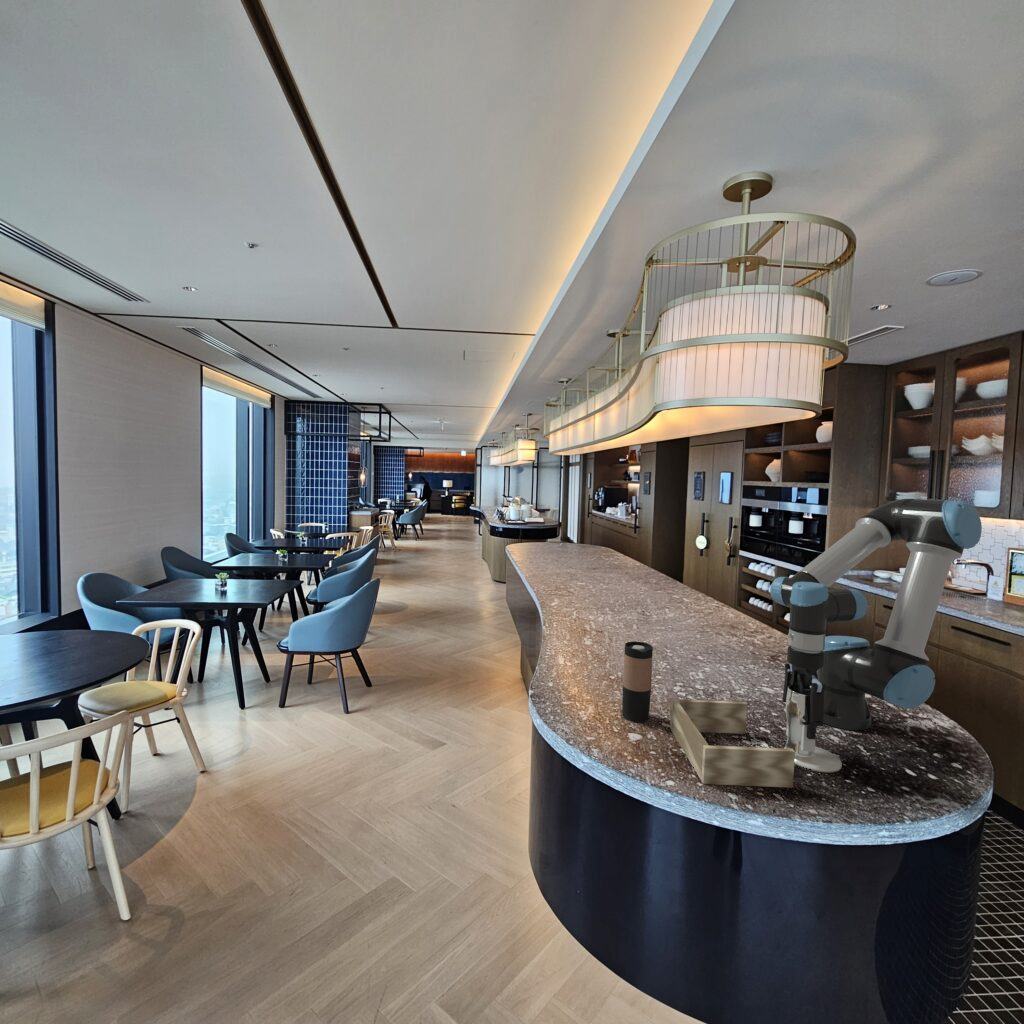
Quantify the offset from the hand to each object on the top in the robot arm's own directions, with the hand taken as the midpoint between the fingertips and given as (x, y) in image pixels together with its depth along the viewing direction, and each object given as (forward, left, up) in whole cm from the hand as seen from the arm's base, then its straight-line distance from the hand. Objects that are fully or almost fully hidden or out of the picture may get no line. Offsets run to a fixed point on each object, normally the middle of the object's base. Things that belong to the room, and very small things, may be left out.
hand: (799, 742), depth 126 cm
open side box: (+17, 0, -4) cm, 17 cm away
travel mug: (+35, -19, -4) cm, 40 cm away
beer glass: (0, 0, -2) cm, 2 cm away
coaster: (-3, 0, -4) cm, 5 cm away
